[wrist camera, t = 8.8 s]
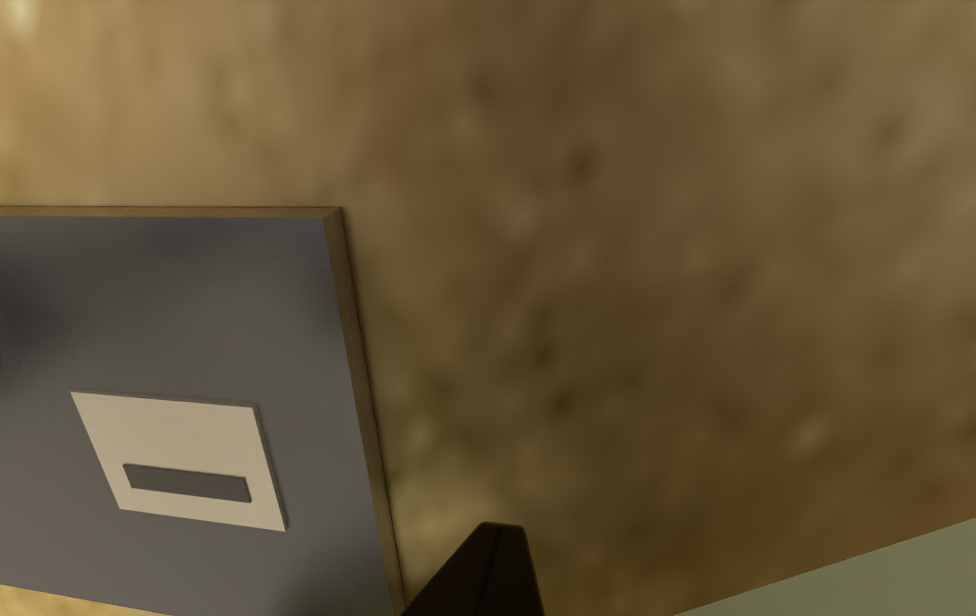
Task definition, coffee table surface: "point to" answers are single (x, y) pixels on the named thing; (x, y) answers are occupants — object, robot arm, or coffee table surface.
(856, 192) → the coffee table surface
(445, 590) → the robot arm
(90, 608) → the coffee table surface
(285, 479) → the label panel
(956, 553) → the swing arm
